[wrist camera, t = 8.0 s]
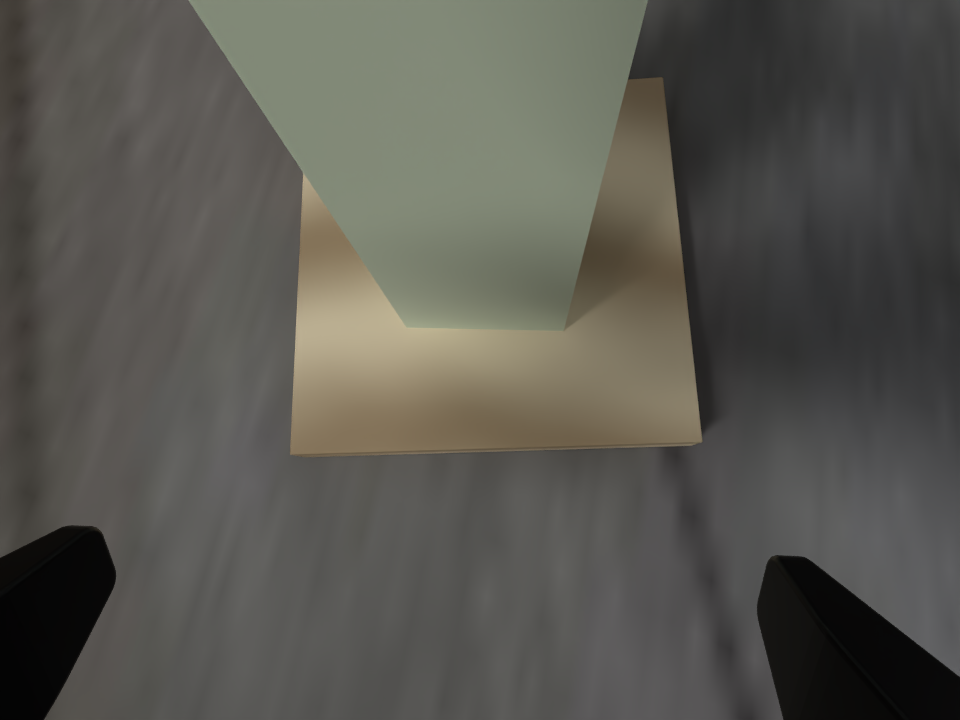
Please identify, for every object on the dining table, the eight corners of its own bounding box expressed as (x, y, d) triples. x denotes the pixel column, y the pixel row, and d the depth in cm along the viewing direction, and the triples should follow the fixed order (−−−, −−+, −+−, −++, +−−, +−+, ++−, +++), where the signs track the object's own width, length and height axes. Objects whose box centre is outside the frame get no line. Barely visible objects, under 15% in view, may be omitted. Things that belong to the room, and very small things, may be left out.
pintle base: (690, 445, 18) (749, 427, 14) (304, 457, 19) (233, 443, 14) (654, 100, 21) (692, -14, 16) (318, 121, 22) (262, 18, 17)
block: (563, 331, 18) (651, -12, 6) (406, 327, 18) (187, -2, 6) (565, 186, 19) (642, -354, 7) (416, 185, 20) (245, -329, 7)
